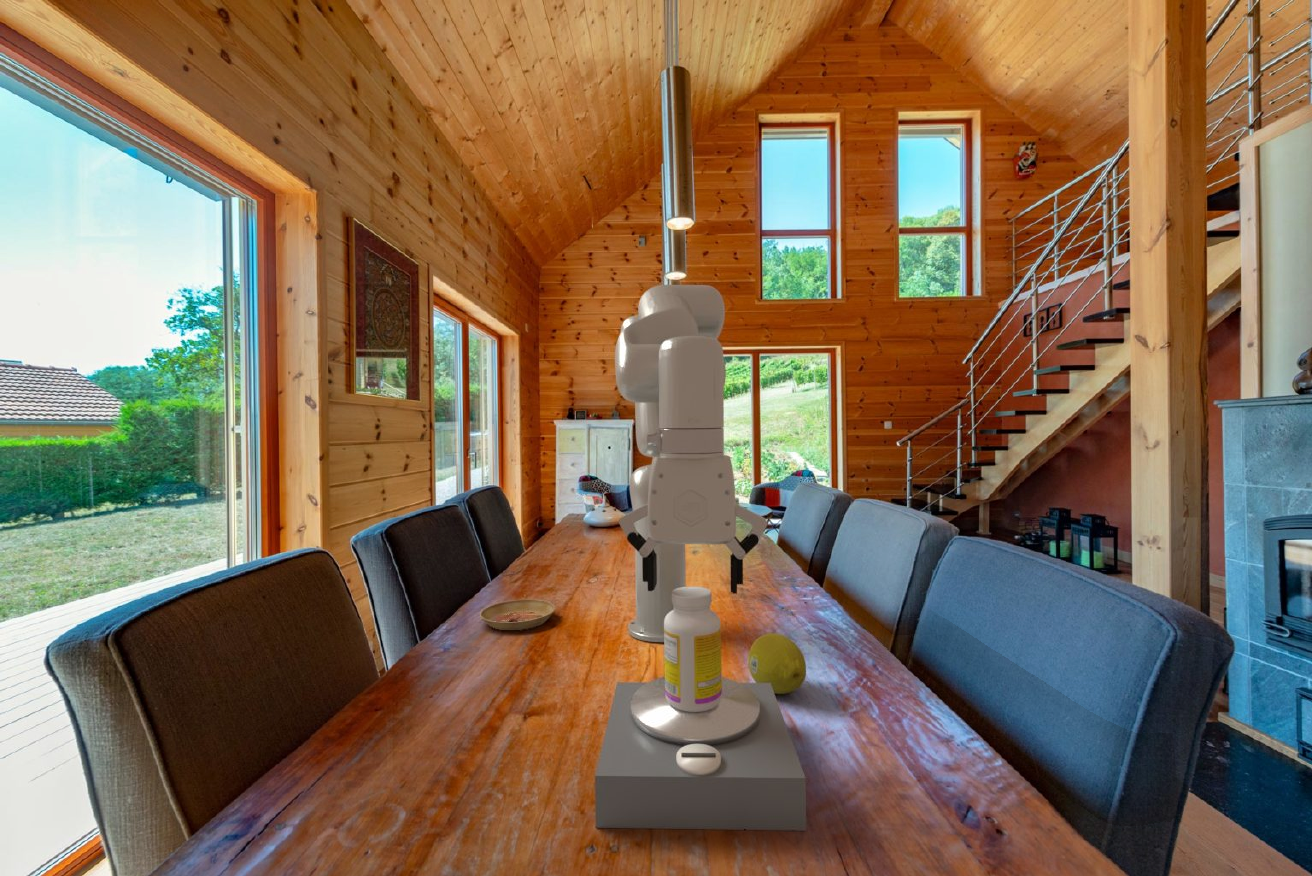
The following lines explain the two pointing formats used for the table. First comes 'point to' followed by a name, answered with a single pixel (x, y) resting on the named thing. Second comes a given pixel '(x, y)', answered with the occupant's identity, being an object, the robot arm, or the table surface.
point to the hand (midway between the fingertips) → (692, 589)
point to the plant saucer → (518, 606)
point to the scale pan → (695, 715)
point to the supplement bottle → (692, 651)
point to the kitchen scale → (699, 775)
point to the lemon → (777, 663)
